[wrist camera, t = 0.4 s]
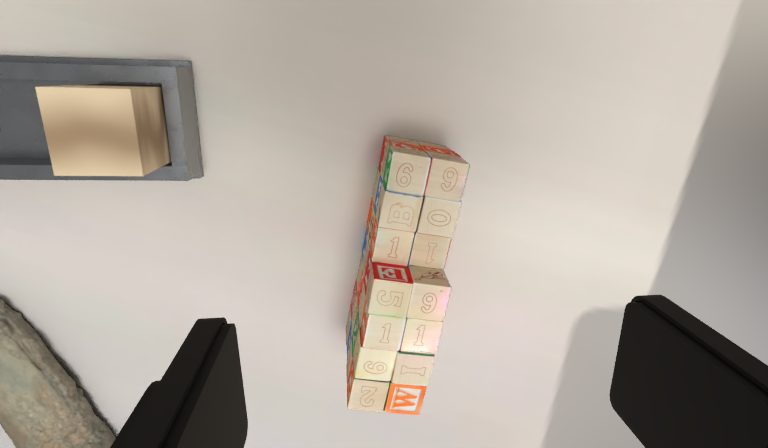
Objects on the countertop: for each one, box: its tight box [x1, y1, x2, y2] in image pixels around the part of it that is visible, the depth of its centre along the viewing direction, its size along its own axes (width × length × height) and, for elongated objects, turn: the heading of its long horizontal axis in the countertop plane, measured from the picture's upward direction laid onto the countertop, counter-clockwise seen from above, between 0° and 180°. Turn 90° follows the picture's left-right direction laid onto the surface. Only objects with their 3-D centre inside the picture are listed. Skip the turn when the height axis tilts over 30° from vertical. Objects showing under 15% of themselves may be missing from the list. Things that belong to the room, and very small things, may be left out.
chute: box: [0, 56, 203, 181], centre depth 36 cm, size 10×26×4 cm, turn 88°
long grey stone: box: [0, 299, 116, 448], centre depth 47 cm, size 35×5×10 cm
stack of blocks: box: [346, 136, 470, 415], centre depth 39 cm, size 21×6×12 cm, turn 169°
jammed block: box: [35, 84, 171, 176], centre depth 34 cm, size 6×6×8 cm
